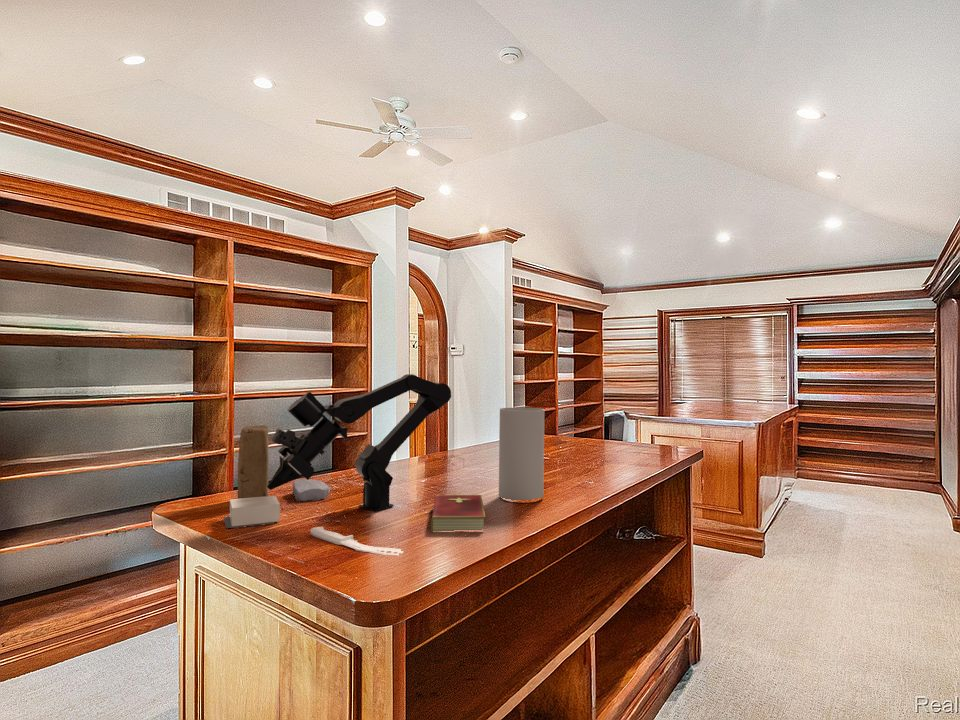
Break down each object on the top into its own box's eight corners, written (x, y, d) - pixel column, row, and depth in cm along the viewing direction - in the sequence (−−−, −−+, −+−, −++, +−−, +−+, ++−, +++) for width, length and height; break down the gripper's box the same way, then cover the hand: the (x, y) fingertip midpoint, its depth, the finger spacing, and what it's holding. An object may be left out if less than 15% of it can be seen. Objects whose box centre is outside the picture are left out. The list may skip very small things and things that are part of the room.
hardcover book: (430, 534, 120) (431, 515, 120) (434, 510, 140) (434, 493, 141) (485, 534, 120) (485, 515, 120) (481, 510, 141) (481, 493, 141)
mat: (269, 513, 133) (269, 512, 133) (274, 523, 125) (274, 522, 125) (224, 518, 128) (224, 516, 128) (225, 529, 120) (226, 527, 120)
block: (267, 505, 141) (268, 428, 142) (235, 507, 139) (237, 428, 139) (269, 496, 151) (270, 424, 152) (240, 497, 149) (241, 424, 149)
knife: (437, 554, 104) (409, 564, 98) (437, 562, 104) (408, 574, 98) (338, 520, 123) (308, 527, 116) (338, 528, 123) (308, 535, 116)
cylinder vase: (498, 493, 159) (499, 407, 159) (541, 494, 158) (542, 407, 159) (498, 503, 146) (499, 410, 147) (545, 504, 146) (546, 411, 146)
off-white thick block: (274, 495, 133) (229, 499, 129) (279, 503, 125) (232, 508, 121) (274, 512, 133) (229, 516, 129) (279, 521, 125) (231, 526, 121)
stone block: (323, 497, 160) (288, 493, 155) (327, 480, 160) (292, 476, 156) (331, 507, 149) (294, 504, 145) (335, 490, 149) (298, 486, 145)
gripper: (288, 413, 140) (239, 459, 134) (300, 420, 123) (246, 472, 118) (318, 443, 143) (273, 489, 138) (334, 453, 126) (283, 505, 121)
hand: (268, 488), depth 128 cm, fingers closed
